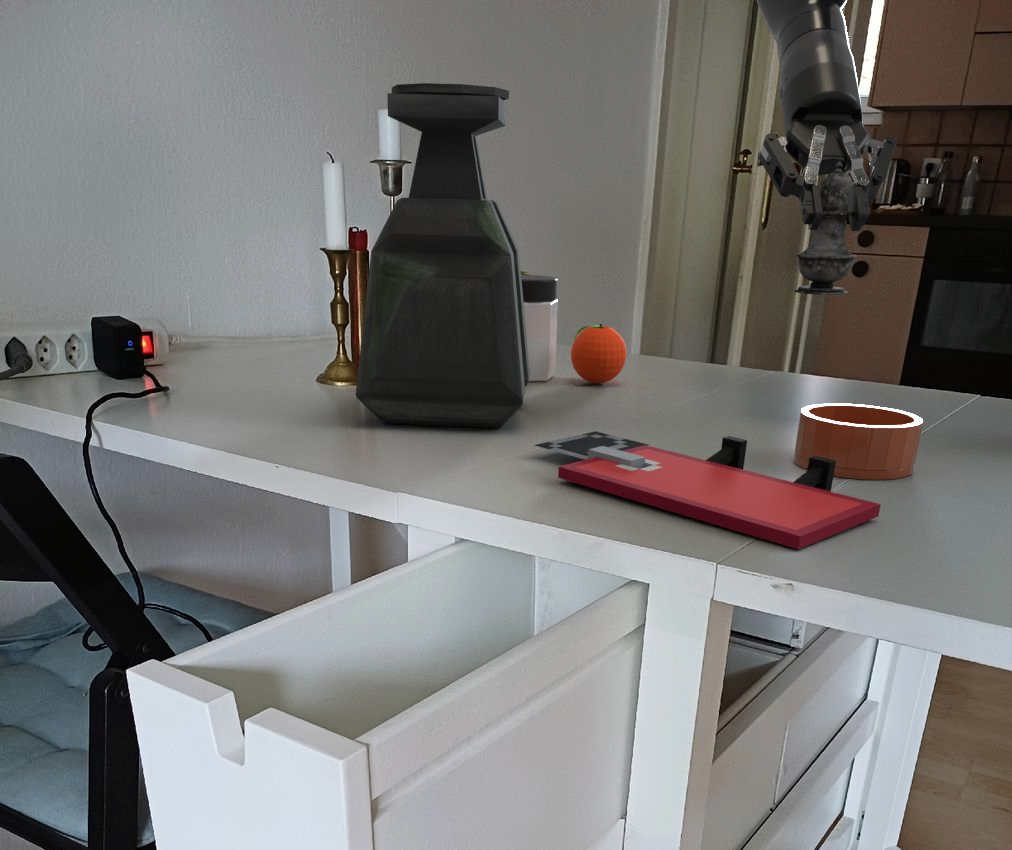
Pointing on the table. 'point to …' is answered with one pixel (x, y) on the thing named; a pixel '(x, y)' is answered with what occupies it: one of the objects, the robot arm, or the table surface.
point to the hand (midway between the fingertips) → (837, 223)
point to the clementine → (598, 353)
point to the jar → (540, 324)
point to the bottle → (445, 277)
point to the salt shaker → (829, 239)
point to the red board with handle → (716, 488)
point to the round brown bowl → (859, 440)
